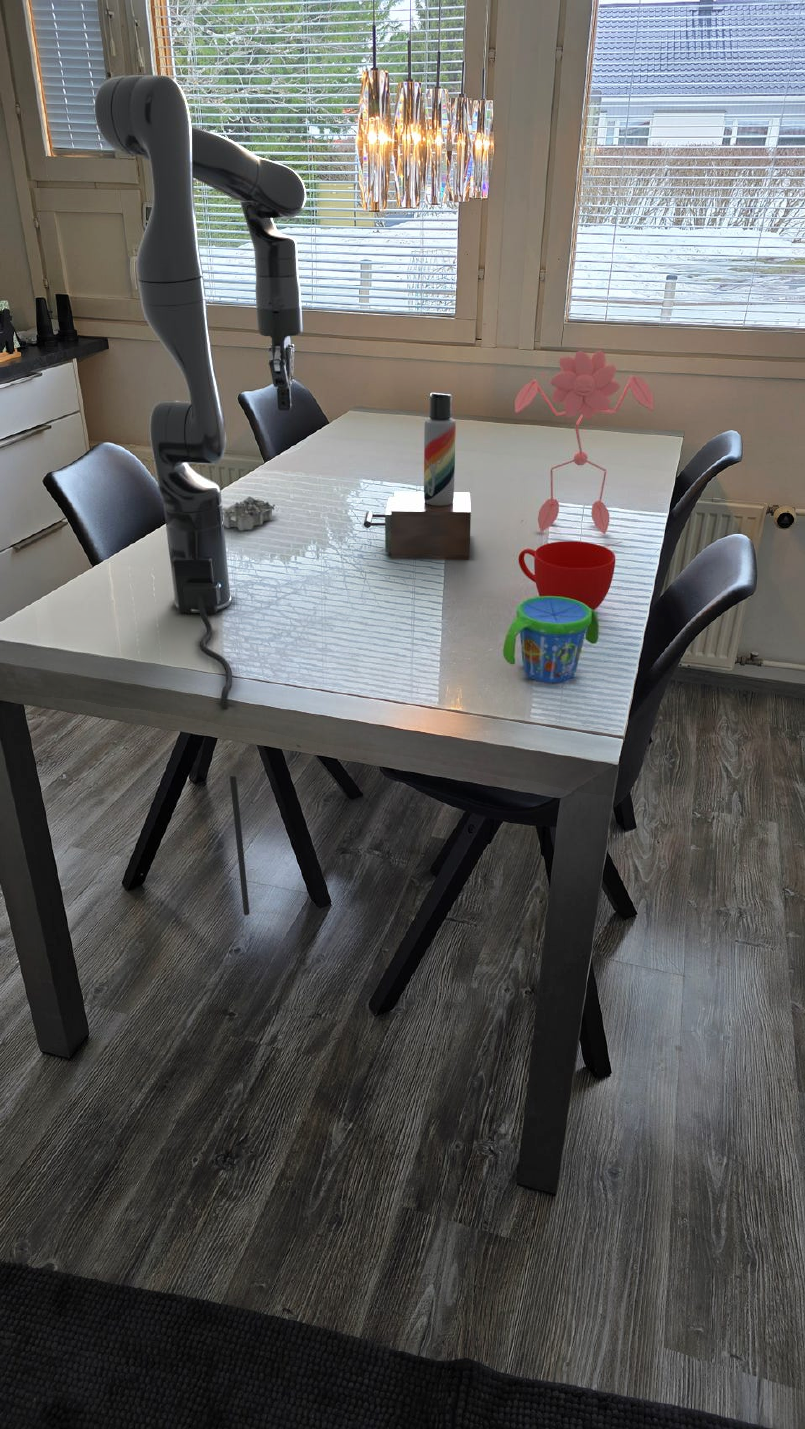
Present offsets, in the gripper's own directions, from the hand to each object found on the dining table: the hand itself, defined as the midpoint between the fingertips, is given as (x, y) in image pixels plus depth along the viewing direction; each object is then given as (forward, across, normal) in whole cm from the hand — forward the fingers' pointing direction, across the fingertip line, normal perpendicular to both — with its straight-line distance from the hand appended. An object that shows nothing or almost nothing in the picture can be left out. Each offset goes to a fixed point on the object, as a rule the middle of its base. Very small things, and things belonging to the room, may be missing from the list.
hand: (284, 409), depth 176 cm
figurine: (+27, -12, +54) cm, 62 cm away
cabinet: (+27, -5, +26) cm, 38 cm away
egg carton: (+27, -19, -12) cm, 35 cm away
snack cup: (+27, +48, +44) cm, 71 cm away
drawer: (+26, -5, +22) cm, 35 cm away
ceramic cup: (+27, +24, +48) cm, 60 cm away
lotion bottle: (+18, -5, +27) cm, 33 cm away
